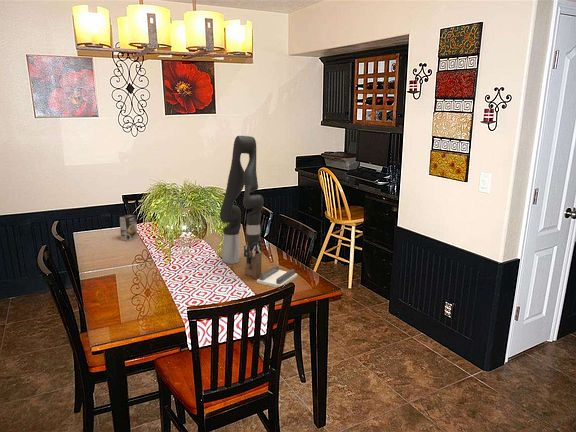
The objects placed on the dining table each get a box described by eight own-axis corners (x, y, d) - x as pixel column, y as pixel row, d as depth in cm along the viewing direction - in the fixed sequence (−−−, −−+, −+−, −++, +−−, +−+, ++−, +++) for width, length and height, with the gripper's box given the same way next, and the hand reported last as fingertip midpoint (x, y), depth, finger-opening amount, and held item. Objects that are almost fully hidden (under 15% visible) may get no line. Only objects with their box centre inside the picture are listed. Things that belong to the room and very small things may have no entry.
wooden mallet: (255, 279, 231) (256, 246, 227) (244, 273, 239) (244, 241, 235) (261, 278, 233) (261, 245, 229) (250, 272, 241) (250, 240, 237)
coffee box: (127, 241, 291) (126, 217, 287) (120, 240, 293) (119, 216, 289) (137, 238, 299) (136, 215, 295) (130, 236, 301) (129, 214, 297)
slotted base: (256, 282, 226) (256, 275, 226) (274, 271, 243) (274, 264, 242) (280, 288, 220) (280, 280, 219) (297, 276, 237) (297, 269, 236)
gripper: (254, 228, 238) (254, 256, 242) (239, 234, 226) (239, 264, 230) (266, 230, 235) (265, 258, 239) (252, 236, 223) (251, 266, 226)
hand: (253, 261), depth 234 cm, fingers open, 8 cm apart
